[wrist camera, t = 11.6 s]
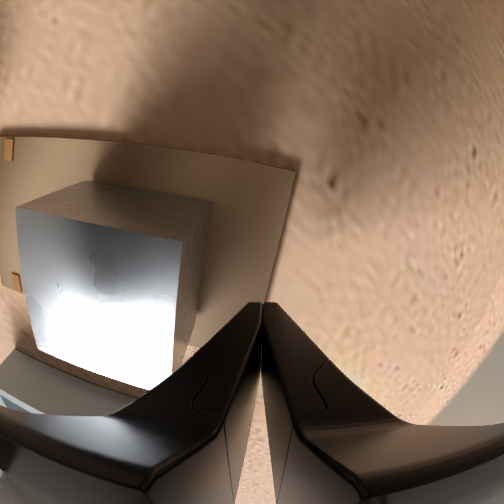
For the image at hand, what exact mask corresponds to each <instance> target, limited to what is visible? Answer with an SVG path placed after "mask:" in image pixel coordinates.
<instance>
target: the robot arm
mask: <svg viewBox="0 0 504 504" xmlns="http://www.w3.org/2000/svg"><path fill="white" fill-rule="evenodd" d="M262 310H263V314H262ZM261 347H262V351H261ZM260 372H261V378H262V388H263V396H264V405H265V413H266V422H267V430H268V439H269V447H270V456H271V464H272V472H273V481H274V489H275V497H276V504H504V423H501V424H495V425H486V426H430V425H415V424H411V423H408V422H405V421H403V420H401V419H399V418H397V417H396V416H395V415H393V414H392V413H391V412H389V411H388V410H387V409H385V408H384V407H383V406H382V405H380V404H379V403H378V402H377V401H375V400H374V399H373V398H372V397H370V396H369V395H368V394H367V393H365V392H364V391H363V390H362V389H360V388H359V387H358V386H357V385H356V384H354V383H353V382H352V381H351V380H350V379H349V378H348V377H347V376H346V375H344V374H343V373H342V372H341V371H340V370H339V369H338V368H337V367H336V366H335V364H334V363H333V362H332V361H331V360H329V358H328V357H327V356H326V355H325V354H324V353H323V352H322V351H321V350H320V349H319V348H318V346H317V345H316V344H315V343H314V342H313V341H312V340H311V339H310V338H309V337H308V336H307V335H306V334H305V332H304V331H303V330H302V329H301V328H300V327H299V326H298V325H297V324H296V323H295V322H294V321H293V320H292V318H291V317H290V316H289V315H288V314H287V313H286V312H285V311H284V310H283V309H282V308H281V307H280V305H279V304H278V303H276V302H264V303H263V304H262V303H261V302H248V303H247V304H246V305H245V306H244V307H243V308H242V309H241V310H240V311H239V312H238V313H237V314H236V315H235V316H234V317H233V318H232V319H231V320H230V321H229V322H228V323H226V324H225V325H224V326H223V327H222V328H221V329H220V330H219V331H218V332H217V333H216V334H215V335H214V336H213V337H212V338H211V339H210V340H209V341H208V342H207V343H206V344H204V345H203V346H202V347H201V348H200V349H199V350H198V351H197V352H196V353H195V354H194V355H193V357H191V358H189V359H188V360H187V361H186V362H185V363H184V364H183V365H182V366H181V367H179V368H178V369H177V370H176V371H175V372H174V373H173V374H171V375H170V376H169V377H167V378H166V379H165V380H163V381H162V382H160V383H159V384H158V385H156V386H155V387H153V388H152V389H151V390H149V391H148V392H146V393H145V394H143V395H142V396H140V397H139V398H137V399H136V400H134V401H133V402H132V403H130V404H129V405H127V406H126V407H124V408H122V409H121V410H119V411H117V412H114V413H112V414H109V415H104V416H64V415H47V414H34V413H27V412H21V411H16V410H12V409H9V408H6V407H4V406H1V405H0V469H1V470H2V471H3V473H2V475H1V477H0V504H234V503H235V499H236V494H237V489H238V485H239V480H240V475H241V471H242V466H243V461H244V456H245V452H246V447H247V442H248V437H249V432H250V427H251V422H252V416H253V411H254V406H255V401H256V396H257V390H258V385H259V379H260Z"/></svg>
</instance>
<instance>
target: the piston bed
mask: <svg viewBox="0 0 504 504" xmlns="http://www.w3.org/2000/svg"><path fill="white" fill-rule="evenodd" d="M295 174H296V172H295V171H293V170H289V169H284V168H280V167H275V166H271V165H266V164H261V163H256V162H251V161H246V160H241V159H236V158H230V157H225V156H219V155H213V154H207V153H201V152H195V151H188V150H182V149H175V148H168V147H160V146H152V145H144V144H135V143H126V142H116V141H106V140H93V139H80V138H63V137H37V136H0V276H1V282H2V285H3V286H6V287H8V288H10V289H13V290H15V291H18V292H20V293H22V294H25V292H24V286H23V280H22V274H21V267H20V259H19V250H18V240H17V228H16V211H15V207H17V206H19V205H22V204H24V203H27V202H29V201H31V200H34V199H36V198H39V197H42V196H44V195H47V194H49V193H52V192H55V191H57V190H60V189H63V188H66V187H68V186H71V185H74V184H77V183H80V182H83V181H86V180H87V181H94V182H101V183H108V184H114V185H121V186H127V187H133V188H139V189H146V190H151V191H157V192H163V193H169V194H175V195H180V196H186V197H191V198H197V199H202V200H207V201H213V206H212V212H211V218H210V225H209V231H208V237H207V244H206V250H205V257H204V264H203V270H202V278H201V285H200V292H199V299H198V307H197V315H196V323H195V326H194V329H193V332H192V334H191V337H190V340H189V343H188V345H191V346H195V347H200V348H201V347H202V346H203V345H204V344H206V343H207V342H208V341H209V340H210V339H211V338H212V337H213V336H214V335H215V334H216V333H217V332H218V331H219V330H220V329H221V328H222V327H223V326H224V325H225V324H226V323H228V322H229V321H230V320H231V319H232V318H233V317H234V316H235V315H236V314H237V313H238V312H239V311H240V310H241V309H242V308H243V307H244V306H245V305H246V304H247V303H248V302H261V303H262V304H263V303H264V301H265V297H266V293H267V289H268V285H269V281H270V277H271V273H272V269H273V265H274V261H275V257H276V253H277V249H278V245H279V241H280V237H281V233H282V229H283V225H284V221H285V216H286V212H287V208H288V204H289V200H290V195H291V191H292V187H293V183H294V178H295Z"/></svg>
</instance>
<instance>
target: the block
mask: <svg viewBox="0 0 504 504" xmlns="http://www.w3.org/2000/svg"><path fill="white" fill-rule="evenodd" d="M212 206H213V201H207V200H202V199H197V198H191V197H186V196H180V195H175V194H169V193H163V192H157V191H151V190H146V189H139V188H133V187H127V186H121V185H114V184H108V183H101V182H94V181H87V180H86V181H83V182H80V183H77V184H74V185H71V186H68V187H66V188H63V189H60V190H57V191H55V192H52V193H49V194H47V195H44V196H42V197H39V198H36V199H34V200H31V201H29V202H27V203H24V204H22V205H19V206H17V207H15V211H16V228H17V240H18V250H19V259H20V267H21V274H22V280H23V286H24V292H25V297H26V303H27V308H28V312H29V317H30V321H31V325H32V330H33V334H34V338H35V341H36V345H37V349H38V350H40V351H43V352H45V353H47V354H49V355H52V356H54V357H56V358H59V359H61V360H64V361H66V362H69V363H71V364H74V365H76V366H79V367H81V368H84V369H87V370H89V371H92V372H95V373H98V374H100V375H103V376H106V377H109V378H112V379H115V380H118V381H121V382H124V383H128V384H131V385H134V386H138V387H141V388H144V389H148V390H151V389H152V388H153V387H155V386H156V385H158V384H159V383H160V382H162V381H163V380H165V379H166V378H167V377H169V376H170V375H171V374H173V373H174V372H175V371H176V370H177V369H178V368H179V367H180V366H181V363H182V360H183V358H184V355H185V352H186V349H187V346H188V343H189V340H190V337H191V334H192V332H193V329H194V326H195V323H196V315H197V307H198V299H199V292H200V285H201V278H202V270H203V264H204V257H205V250H206V244H207V237H208V231H209V225H210V218H211V212H212Z"/></svg>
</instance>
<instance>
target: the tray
mask: <svg viewBox="0 0 504 504" xmlns="http://www.w3.org/2000/svg"><path fill="white" fill-rule="evenodd" d="M136 399H137V398H134V397H131V396H128V395H125V394H121V393H118V392H115V391H112V390H109V389H107V388H104V387H101V386H98V385H95V384H93V383H90V382H87V381H85V380H82V379H80V378H77V377H74V376H72V375H70V374H67V373H65V372H62V371H60V370H58V369H55V368H53V367H51V366H49V365H46V364H44V363H42V362H40V361H38V360H36V359H34V358H31V357H29V356H27V355H25V354H23V353H21V352H19V351H17V350H15V349H14V350H13V351H12V352H11V354H10V355H9V356H8V357H7V358H6V359H5V360H4V361H3V363H2V364H1V365H0V405H1V406H4V407H6V408H9V409H12V410H16V411H21V412H27V413H34V414H47V415H64V416H104V415H109V414H112V413H114V412H117V411H119V410H121V409H122V408H124V407H126V406H127V405H129V404H130V403H132V402H133V401H134V400H136Z"/></svg>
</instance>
